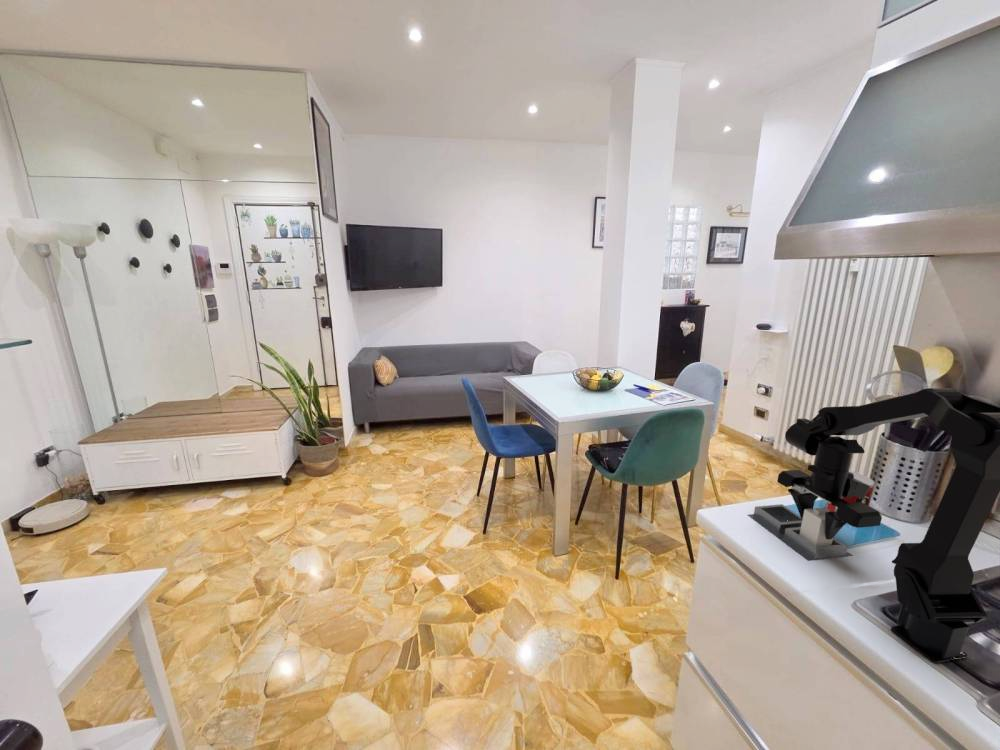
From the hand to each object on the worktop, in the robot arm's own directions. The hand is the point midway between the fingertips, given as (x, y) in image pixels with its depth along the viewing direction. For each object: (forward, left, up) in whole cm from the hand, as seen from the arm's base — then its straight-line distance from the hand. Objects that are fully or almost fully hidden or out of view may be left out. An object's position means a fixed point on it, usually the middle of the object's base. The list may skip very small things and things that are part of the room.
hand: (816, 531), depth 88 cm
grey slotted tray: (+5, 0, -4) cm, 6 cm away
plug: (0, 0, -4) cm, 4 cm away
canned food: (+10, -19, -5) cm, 22 cm away
